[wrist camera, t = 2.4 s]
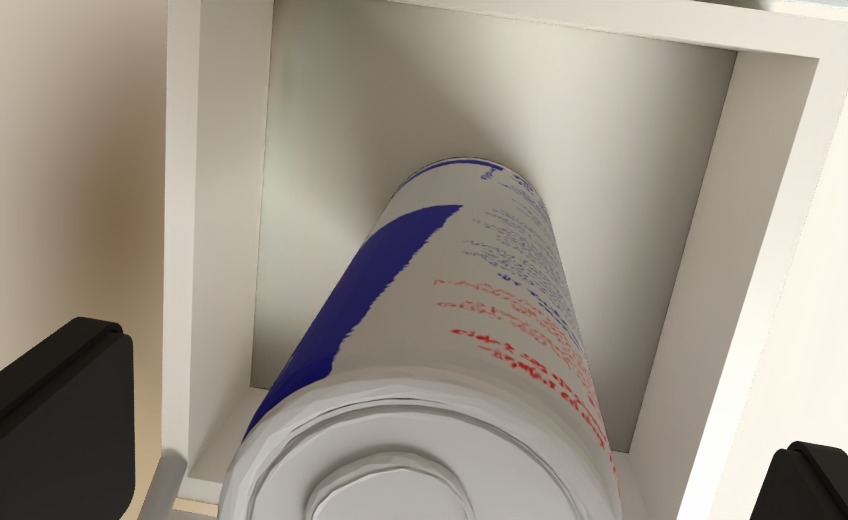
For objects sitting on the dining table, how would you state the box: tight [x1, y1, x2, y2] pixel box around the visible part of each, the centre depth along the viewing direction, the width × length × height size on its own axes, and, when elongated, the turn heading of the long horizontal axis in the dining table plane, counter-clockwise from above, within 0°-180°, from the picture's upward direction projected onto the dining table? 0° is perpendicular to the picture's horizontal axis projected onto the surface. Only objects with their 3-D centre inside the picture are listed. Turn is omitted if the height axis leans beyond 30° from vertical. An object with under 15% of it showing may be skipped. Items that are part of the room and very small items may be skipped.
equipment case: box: [137, 0, 848, 520], centre depth 16 cm, size 24×16×18 cm, turn 172°
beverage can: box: [217, 157, 622, 520], centre depth 16 cm, size 6×6×15 cm
